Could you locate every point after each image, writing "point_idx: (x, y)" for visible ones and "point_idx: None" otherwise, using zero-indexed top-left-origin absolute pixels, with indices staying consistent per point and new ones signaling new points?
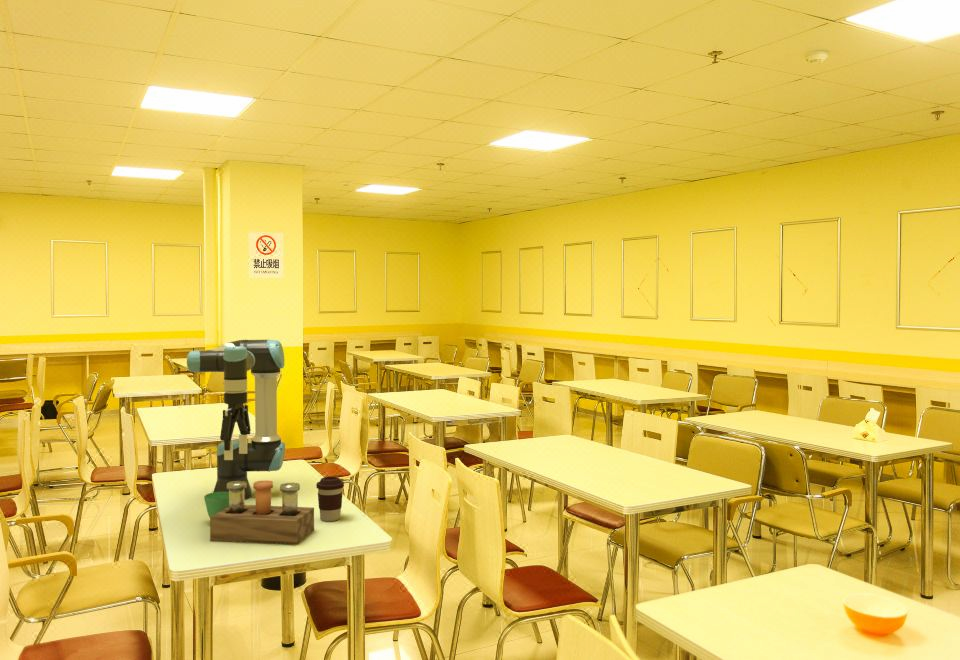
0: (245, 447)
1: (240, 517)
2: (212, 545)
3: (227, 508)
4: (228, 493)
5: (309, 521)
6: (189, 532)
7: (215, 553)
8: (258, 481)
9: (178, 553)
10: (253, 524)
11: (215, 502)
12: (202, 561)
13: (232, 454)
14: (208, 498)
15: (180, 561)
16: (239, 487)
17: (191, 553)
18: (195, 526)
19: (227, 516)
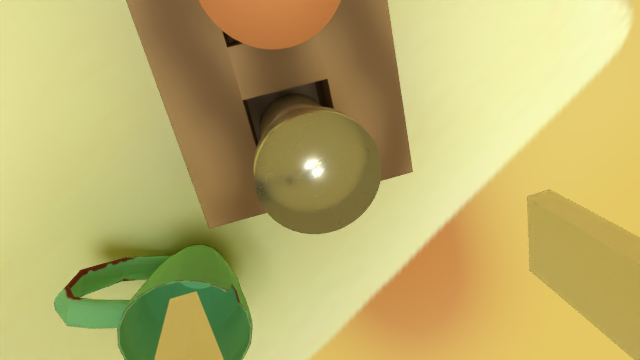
0: (191, 357)
1: (379, 39)
2: (417, 103)
3: None
4: (121, 335)
5: None
6: (328, 269)
7: (484, 32)
8: (249, 36)
9: (508, 146)
10: None
11: (241, 296)
12: (559, 17)
13: (577, 219)
14: (251, 333)
15: (568, 86)
16: (352, 119)
17: (500, 109)
18: (268, 300)
19: (383, 109)
